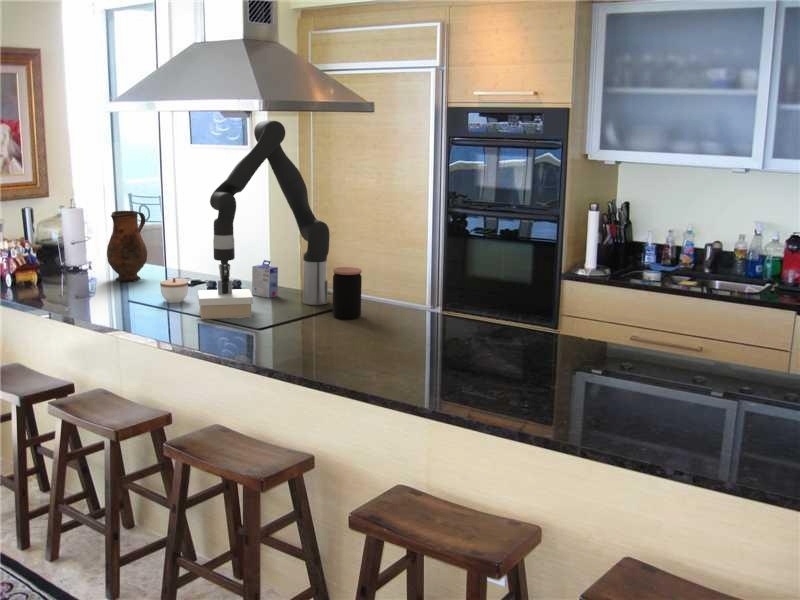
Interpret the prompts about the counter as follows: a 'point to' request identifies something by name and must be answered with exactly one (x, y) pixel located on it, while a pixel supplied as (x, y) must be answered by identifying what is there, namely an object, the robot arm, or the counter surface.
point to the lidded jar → (174, 290)
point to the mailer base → (225, 311)
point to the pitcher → (127, 246)
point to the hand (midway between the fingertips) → (225, 292)
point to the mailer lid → (225, 296)
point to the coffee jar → (347, 293)
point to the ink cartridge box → (265, 280)
